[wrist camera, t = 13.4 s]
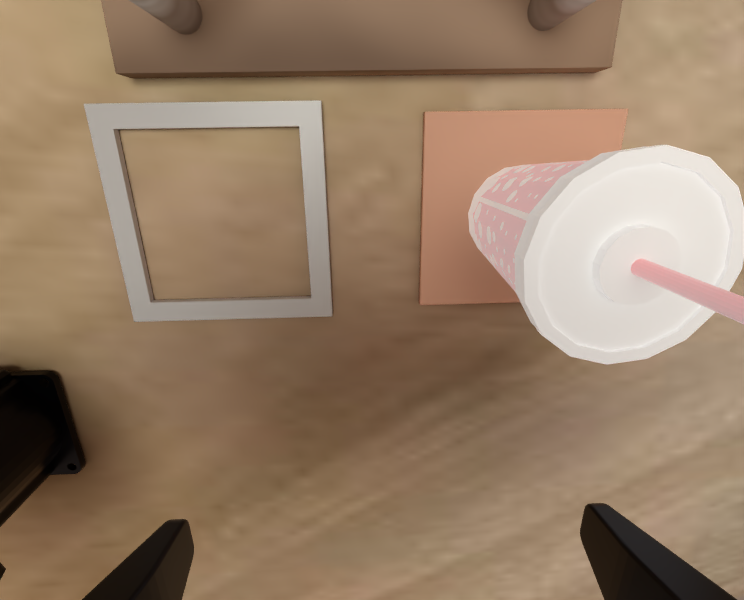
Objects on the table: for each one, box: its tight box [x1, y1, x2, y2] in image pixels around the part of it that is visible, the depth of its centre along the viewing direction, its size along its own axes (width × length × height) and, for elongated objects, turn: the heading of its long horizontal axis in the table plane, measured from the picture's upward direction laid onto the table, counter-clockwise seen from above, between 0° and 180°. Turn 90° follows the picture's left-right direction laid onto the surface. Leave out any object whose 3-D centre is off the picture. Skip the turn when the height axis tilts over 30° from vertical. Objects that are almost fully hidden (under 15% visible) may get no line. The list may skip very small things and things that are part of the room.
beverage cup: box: [468, 145, 744, 364], centre depth 13 cm, size 6×6×14 cm
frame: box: [84, 100, 333, 322], centre depth 19 cm, size 10×10×1 cm
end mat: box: [419, 109, 628, 305], centre depth 20 cm, size 9×9×1 cm
